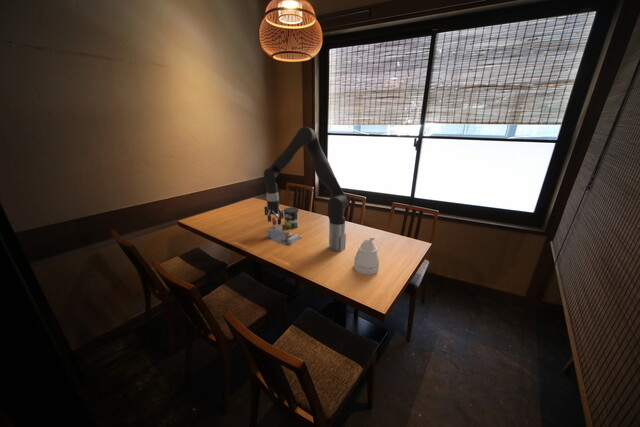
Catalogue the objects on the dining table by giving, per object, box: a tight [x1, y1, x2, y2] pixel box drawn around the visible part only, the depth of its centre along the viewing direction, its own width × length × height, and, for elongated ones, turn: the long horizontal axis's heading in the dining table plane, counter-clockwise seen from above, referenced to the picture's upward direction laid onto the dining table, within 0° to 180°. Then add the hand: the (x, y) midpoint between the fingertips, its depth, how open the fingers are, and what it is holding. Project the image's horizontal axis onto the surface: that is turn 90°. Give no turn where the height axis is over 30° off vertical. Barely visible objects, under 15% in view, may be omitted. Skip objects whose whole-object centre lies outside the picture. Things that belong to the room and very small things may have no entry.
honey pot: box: [353, 235, 380, 275], centre depth 129 cm, size 13×13×18 cm
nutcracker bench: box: [263, 231, 302, 247], centre depth 162 cm, size 21×14×4 cm, turn 56°
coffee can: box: [283, 206, 300, 230], centre depth 178 cm, size 10×10×14 cm
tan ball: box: [285, 231, 293, 238], centre depth 158 cm, size 4×4×4 cm
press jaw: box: [266, 217, 284, 238], centre depth 163 cm, size 3×11×12 cm, turn 146°
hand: (274, 222), depth 162 cm, fingers open, 8 cm apart
